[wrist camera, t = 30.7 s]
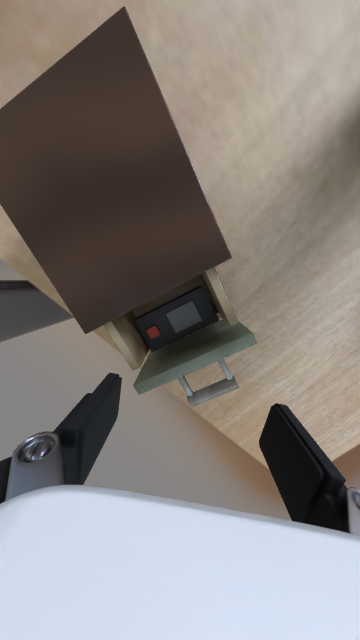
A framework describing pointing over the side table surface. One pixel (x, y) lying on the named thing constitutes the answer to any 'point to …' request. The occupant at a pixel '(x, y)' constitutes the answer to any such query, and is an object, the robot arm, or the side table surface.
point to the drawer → (184, 342)
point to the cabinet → (105, 180)
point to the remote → (176, 318)
